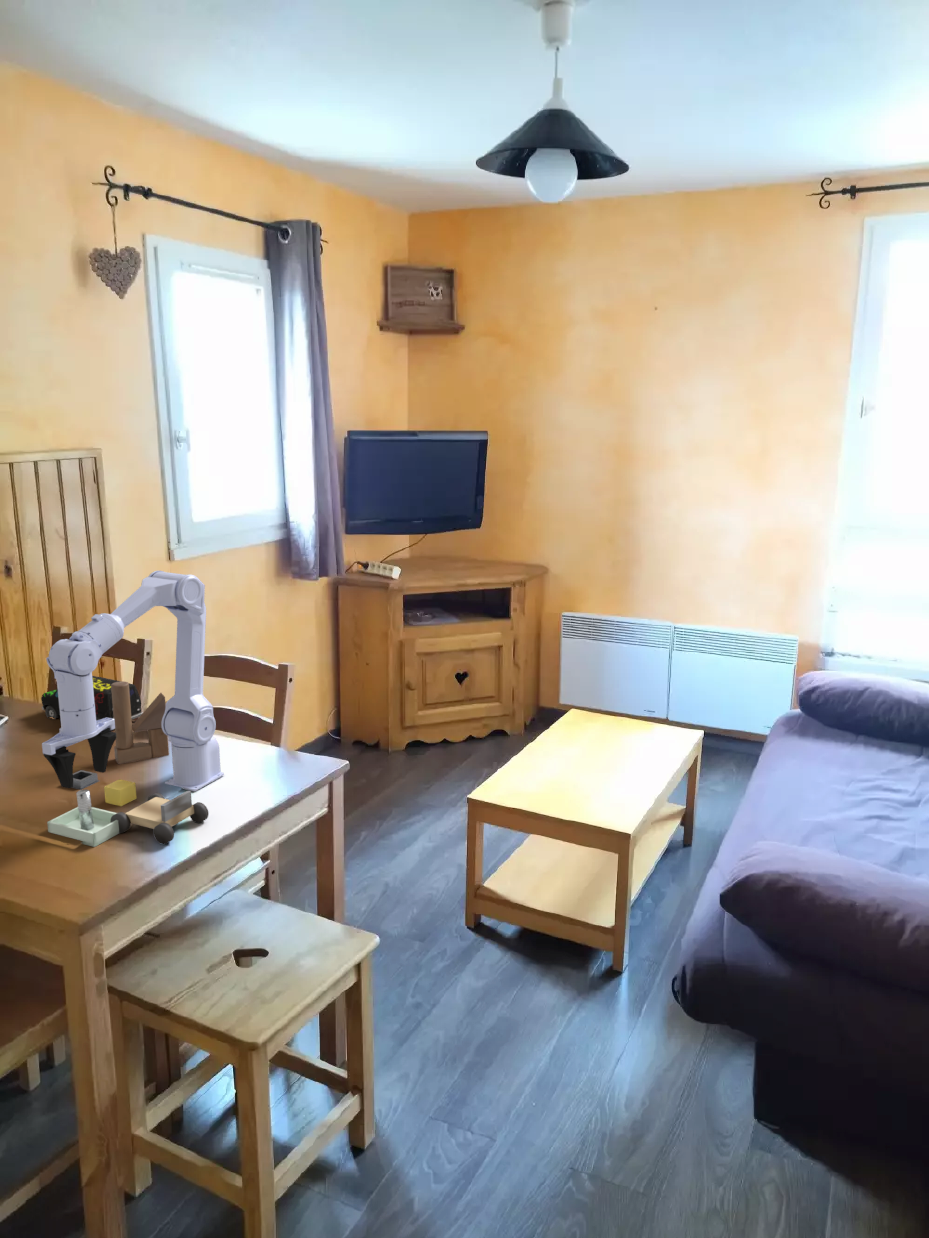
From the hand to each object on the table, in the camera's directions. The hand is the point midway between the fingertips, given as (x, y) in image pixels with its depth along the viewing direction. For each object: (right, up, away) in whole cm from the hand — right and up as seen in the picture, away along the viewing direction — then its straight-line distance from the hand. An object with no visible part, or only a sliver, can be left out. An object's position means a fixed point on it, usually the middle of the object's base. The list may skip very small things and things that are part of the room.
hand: (84, 778), depth 159 cm
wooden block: (-2, -2, +36) cm, 36 cm away
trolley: (+12, -10, +4) cm, 16 cm away
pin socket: (-10, -5, +22) cm, 24 cm away
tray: (0, -10, +2) cm, 10 cm away
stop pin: (0, -9, +2) cm, 10 cm away
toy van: (-24, +4, +61) cm, 66 cm away
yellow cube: (+1, -7, +14) cm, 16 cm away
